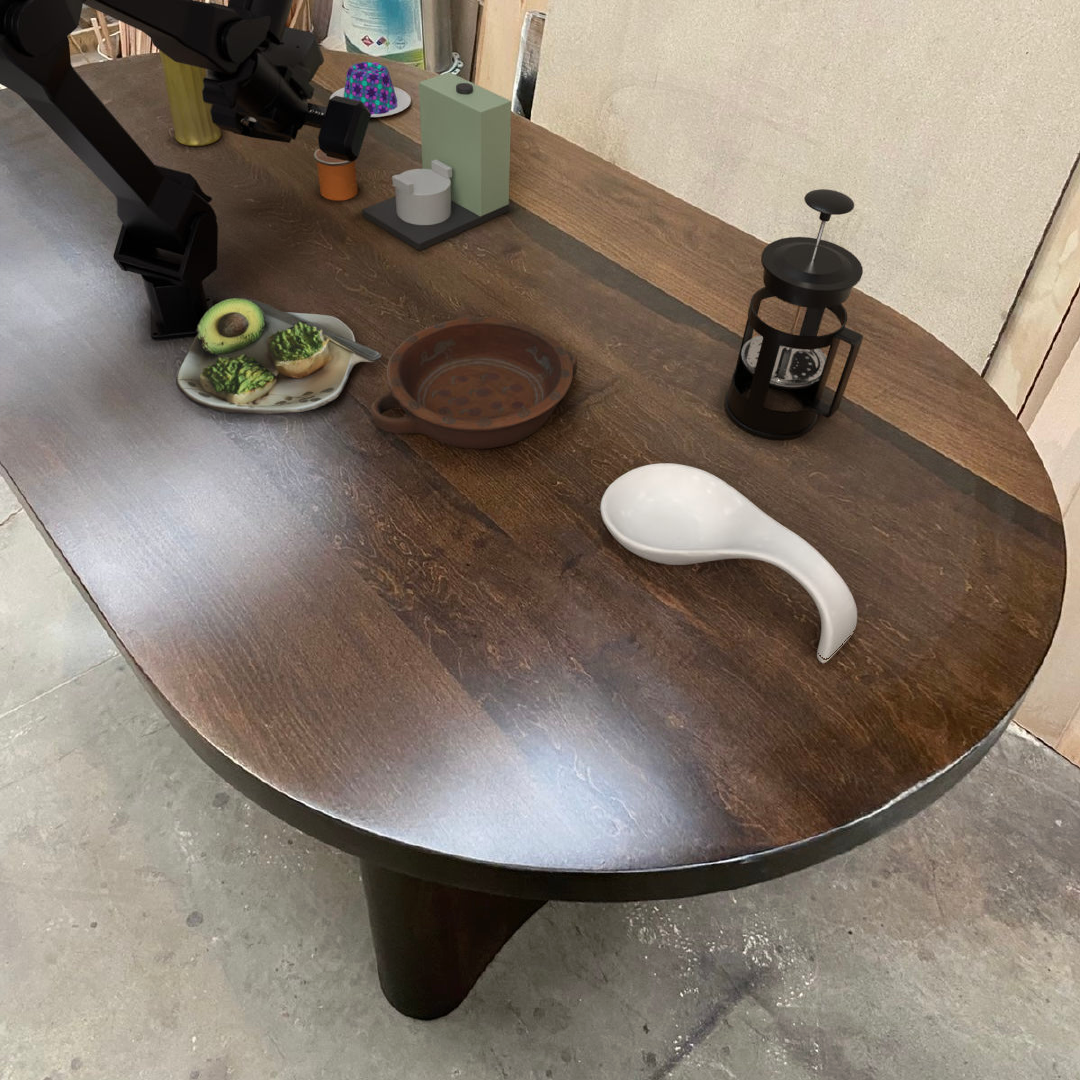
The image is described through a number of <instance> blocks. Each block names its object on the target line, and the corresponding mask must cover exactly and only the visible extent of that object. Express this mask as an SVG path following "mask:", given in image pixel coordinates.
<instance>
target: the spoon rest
mask: <svg viewBox="0 0 1080 1080" xmlns="http://www.w3.org/2000/svg"><path fill="white" fill-rule="evenodd" d="M600 515H601V519H602V521H603V523H604V525H605V527H606V528H607V530H608V532H609V533H610V535H611V536H612V537H613V538H614V539H615V540H616V541H617V543H619V544H620V545H621V546H622V547H624V549H626V550H627V551H629V552H630V553H633V554H634V555H637V556H638V557H640V558H643V559H645V560H648V561H651V562H654V563H657V564H663V565H669V566H687V565H688V566H689V565H696V564H701V563H708V562H714V561H720V560H721V561H723V560H733V559H745V560H746V559H747V560H756V561H761V562H765V563H768V564H771V565H772V566H776V567H777V568H779V569H780V570H782V571H784V572H785V573H787V574H788V575H789V576H790V577H792V578H793V579H795V581H797V582H798V583H799V584H800V585H801V586H802V587H803V588H804V590H805V591H806V592H807V593H808V594H809V596H810V597H811V598H812V600H813V602H814V603H815V606H816V608H817V611H818V614H819V618H820V624H821V625H820V629H821V630H820V638H819V643H818V647H817V651H816V657H817V660H818V661H819V663H821V664H825V663H828V661H830V659H832V658H833V657H834V656H835V655H836V653H837V652H838V651H840V649H841V648H843V646H844V645H845V644H846V643H847V642H848V641H849V640H850V638H851V637H852V636H853V635H854V633H855V631H854V630H856V627H857V624H858V608H857V605H856V601H855V598H854V596H853V594H852V592H851V590H850V588H849V586H848V585H847V583H846V582H845V581H844V579H843V578H842V576H841V575H840V574H839V573H838V572H837V570H836V569H835V568H834V567H833V565H832V564H831V563H830V562H829V561H828V560H827V559H826V558H825V557H824V556H823V555H822V554H821V553H820V552H819V551H818V550H817V549H816V548H815V547H813V546H812V545H811V544H810V543H809V542H808V541H806V540H805V539H803V538H802V537H801V536H799V535H798V534H797V533H795V532H793V531H792V530H790V529H789V528H787V527H786V526H784V525H783V524H781V523H780V522H778V521H777V520H775V519H774V518H773V517H771V516H770V515H768V514H767V513H766V512H764V510H762V509H760V508H759V507H758V506H757V505H755V503H753V502H752V501H751V500H750V499H748V498H747V497H746V496H745V495H743V494H742V493H741V492H740V491H739V490H737V489H736V488H735V487H733V486H731V485H730V484H728V482H726V481H725V480H723V479H721V478H720V477H717V475H714V474H712V473H711V472H708V471H706V470H703V469H701V468H698V467H695V466H691V465H685V464H681V463H671V462H668V463H667V462H661V463H660V462H659V463H652V464H646V465H643V466H637V467H636V468H633V469H631V470H629V471H627V472H625V473H624V474H622V475H621V476H619V477H617V478H616V479H615V480H614V481H613V482H611V483H610V484H609V486H608V487H607V488H606V490H605V491H604V493H603V494H602V498H601V501H600ZM853 631H854V632H853ZM850 635H851V636H850ZM849 636H850V637H849ZM848 637H849V638H848ZM847 638H848V639H847ZM846 639H847V640H846ZM845 640H846V641H845ZM844 641H845V642H844ZM842 643H843V645H842ZM841 645H842V646H841ZM840 646H841V647H840ZM839 647H840V648H839ZM838 648H839V649H838ZM837 649H838V650H837ZM836 650H837V651H836ZM835 651H836V652H835ZM834 652H835V653H834ZM818 653H819V654H818ZM833 653H834V654H833ZM832 654H833V655H832ZM819 655H821V657H823V658H825V659H826V658H829V657H830V656H831V655H832V656H831V657H830V658H829V659H827V660H823V659H822V658H821V657H820V656H819Z"/></svg>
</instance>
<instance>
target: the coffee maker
mask: <svg viewBox="0 0 1080 1080" xmlns="http://www.w3.org/2000/svg"><path fill="white" fill-rule="evenodd" d="M418 98H419V101H418V102H419V122H420V123H419V124H420V143H421V144H420V145H421V146H420V147H421V167H422V168H414V169H409V170H406V171H403V172H401V173H399V174H395V175H392V176H391V179H392V186H393V187H394V190H395V191H394V193H395V196H392V197H389V198H387V199H385V200H382V201H380V202H378V203H375V204H372V205H369V206H368V207H365V208H362V209H361V214H362V218H364V219H366V220H368V221H369V222H371V223H372V224H374V225H376V226H377V227H379V228H381V229H382V230H384V231H385V232H387V233H389V234H390V235H392V236H394V237H395V238H397V239H398V240H399V241H402V242H403V243H406V244H407V245H408V246H410V247H411V248H414V249H415V250H417V251H419V252H420V251H423V250H425V249H427V248H429V247H432V246H435V245H437V244H439V243H440V242H443V241H446V240H448V239H450V238H452V237H454V236H457V235H459V234H461V233H464V232H465V231H468V230H470V229H473V228H475V227H477V226H479V225H482V224H484V223H486V222H488V221H491V220H493V219H496V218H498V217H500V216H502V215H504V214H506V213H508V212H509V211H510V177H511V175H510V170H511V135H512V129H511V128H512V100H510V99H508V98H506V97H504V96H501V95H500V94H497V93H496V92H493V91H491V90H489V89H486V88H484V87H482V86H480V85H478V84H476V83H474V82H473V81H472V82H471V81H469V80H467V79H465V78H463V77H460V76H459V75H457V74H455V73H452V72H445V73H442V74H439V75H437V76H434V77H431V78H430V77H429V78H428V79H424V80H421V81H419V82H418Z"/></svg>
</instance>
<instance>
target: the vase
mask: <svg viewBox="0 0 1080 1080" xmlns="http://www.w3.org/2000/svg"><path fill="white" fill-rule="evenodd" d="M158 52H159V57H160V61H161V65H162V70H163V76H164V80H165V88H166V92H167V93H166V94H167V98H168V103H169V109H170V114H171V119H172V124H173V129H174V138H175V140H176V141H177V142H178V143H179V144H181V145H183V146H188V147H204V146H209V145H212V144H214V143H216V142H218V141H219V140H220V138H221V136H222V132H221V129H220V128H219V127H218V126H217V125H215V124H214V123H213V122H212V118H211V114H210V109H211V105H212V104H209V103H205V102H204V101H203V96H202V90H203V87H204V82H203V79H204V78H205V77H206V75H207V74H206V69H204V68H200V67H196V66H191V65H187V64H183V63H178V62H175V61H173V60H172V59H171V58H169V57H168V56H167V55H165V54H164V53H163V52H162V51H160V50H159V49H158Z"/></svg>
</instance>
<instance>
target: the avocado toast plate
mask: <svg viewBox="0 0 1080 1080" xmlns="http://www.w3.org/2000/svg"><path fill="white" fill-rule="evenodd" d="M381 357H382V354H381V353H380V352H379V351H377V350H376V349H374V348H371V347H368V346H366V345H363V344H362V343H359V342H357V341H356V338H355V335H354V332H353V331H352V330H351V329H350V328H349V326H348V325H347V324H345V322H343V321H341V320H340V319H339V318H337V317H335V316H331V315H327V314H317V313H307V312H306V313H305V312H304V313H303V312H292V311H291V312H289V311H282V310H280V309H277V308H274V307H273V306H272V305H271V304H268V303H265V302H262V301H259V300H255V299H253V298H252V299H251V298H244V297H243V298H242V297H233V298H226V299H225V298H224V299H222V300H221V301H219V302H217V303H215V304H213V306H212V307H211V308H210V309H208V310H207V311H206V312H205V314H204V315H203V316H202V318H201V319H200V321H199V324H198V326H197V336H195V338H194V339H193V341H192V344H191V346H190V348H189V350H188V352H187V355H186V356H185V357H184V360H183V362H182V364H181V366H180V367H179V370H178V373H177V375H176V377H175V385H176V387H177V388H178V390H179V391H180V393H182V395H183V396H185V397H186V399H188V401H190V402H192V403H194V404H195V405H197V406H199V407H200V408H201V407H202V408H204V409H208V410H212V411H215V412H219V413H224V414H248V415H250V414H251V415H259V414H260V415H261V414H265V415H270V414H271V415H272V414H274V415H275V414H286V413H287V414H288V413H302V412H307V411H312V410H316V409H318V408H321V407H323V406H326V405H327V404H329V403H331V402H333V401H334V400H336V399H337V398H338V397H339V396H340V395H341V393H342V391H343V390H344V389H345V386H346V385H347V382H348V380H349V376H350V373H351V372H352V370H353V368H354V367H355V366H356V365H357V364H360V363H376V362H377V361H379V360H380V359H382V358H381Z"/></svg>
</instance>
